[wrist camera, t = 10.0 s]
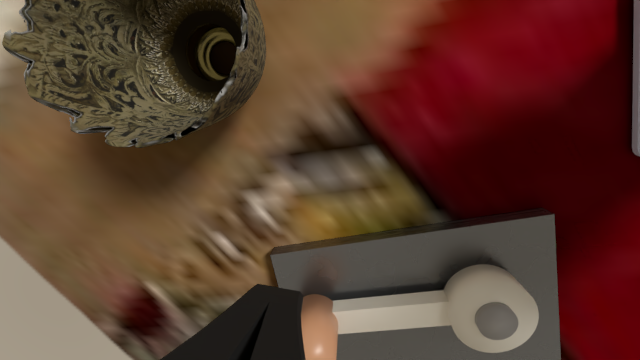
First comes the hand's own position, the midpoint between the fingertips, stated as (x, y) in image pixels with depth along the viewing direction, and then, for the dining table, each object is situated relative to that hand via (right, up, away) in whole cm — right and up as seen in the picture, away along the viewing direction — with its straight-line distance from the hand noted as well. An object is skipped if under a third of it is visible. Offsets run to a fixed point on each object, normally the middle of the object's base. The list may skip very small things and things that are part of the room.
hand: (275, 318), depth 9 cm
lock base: (+7, -6, +11) cm, 14 cm away
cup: (-4, +10, +8) cm, 14 cm away
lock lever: (+6, -3, +8) cm, 11 cm away
